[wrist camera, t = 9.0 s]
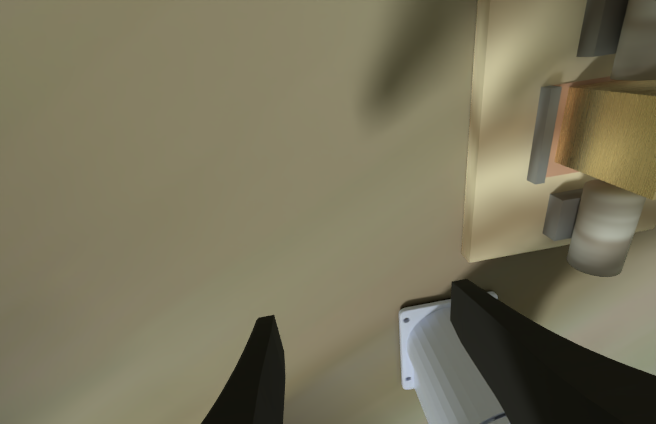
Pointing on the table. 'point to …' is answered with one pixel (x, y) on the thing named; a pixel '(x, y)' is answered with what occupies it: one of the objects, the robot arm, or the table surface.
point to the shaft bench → (549, 129)
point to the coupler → (612, 134)
